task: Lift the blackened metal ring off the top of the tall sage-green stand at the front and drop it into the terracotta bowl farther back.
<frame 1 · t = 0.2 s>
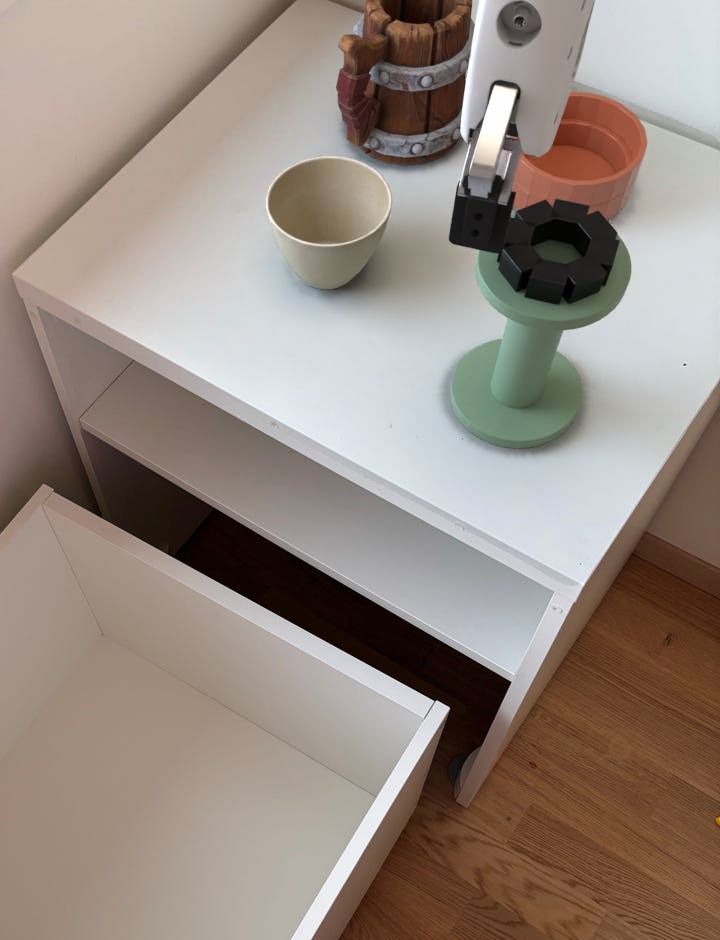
hand: (496, 187, 60), 20 cm above the nightstand, tool pointing down, fingers open, 9 cm apart
flower pot: (327, 268, 85), on the nightstand
stand: (513, 396, 79), on the nightstand
bowl: (564, 186, 88), on the nightstand
ring: (554, 261, 66), point 14 cm above the nightstand, touching stand
mug: (395, 137, 92), on the nightstand
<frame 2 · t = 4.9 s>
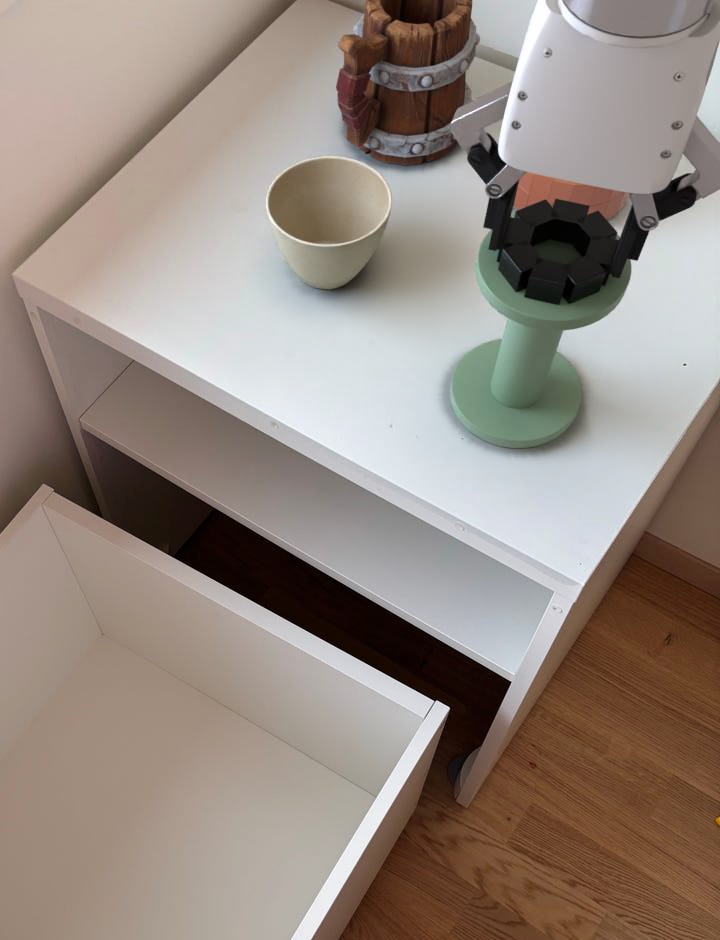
hand: (558, 247, 65), 15 cm above the nightstand, tool pointing down, fingers closed on ring, 7 cm apart
ring: (554, 261, 66), point 14 cm above the nightstand, touching gripper, stand
everything else where it was.
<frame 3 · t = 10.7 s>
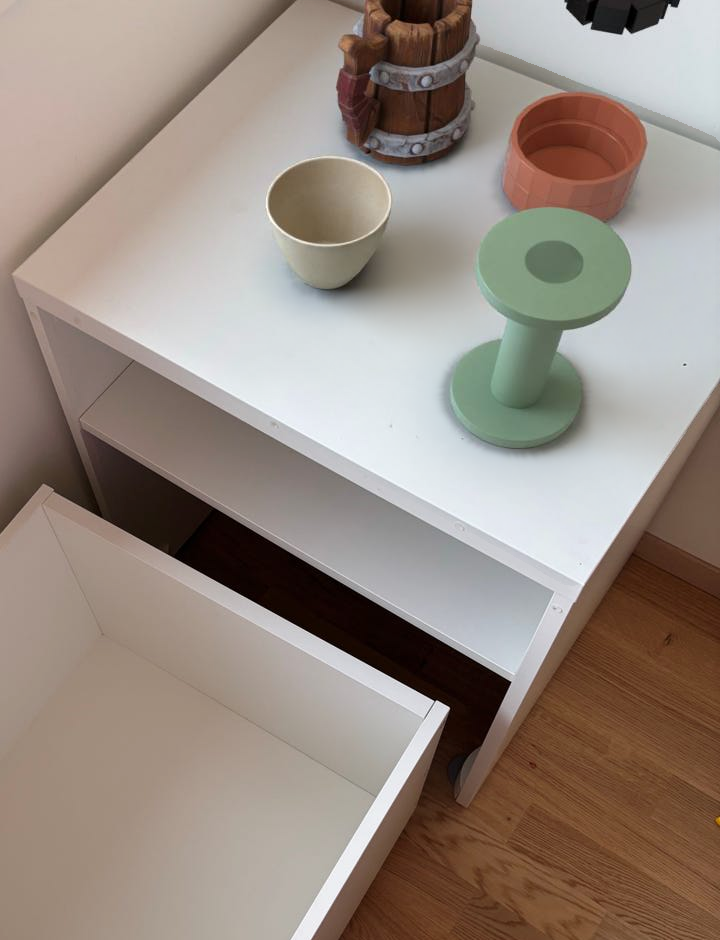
ring: (616, 1, 73), point 16 cm above the nightstand, touching gripper
everything else where it was.
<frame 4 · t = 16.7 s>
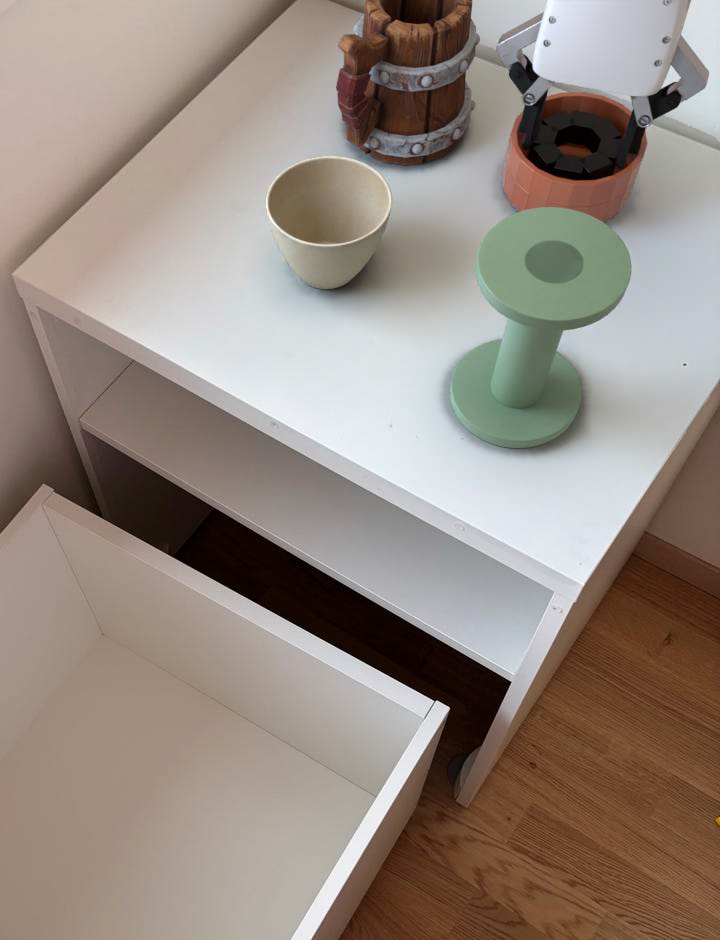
hand: (576, 146, 84), 4 cm above the nightstand, tool pointing down, fingers closed on ring, 7 cm apart
ring: (572, 159, 85), point 3 cm above the nightstand, touching gripper
everything else where it was.
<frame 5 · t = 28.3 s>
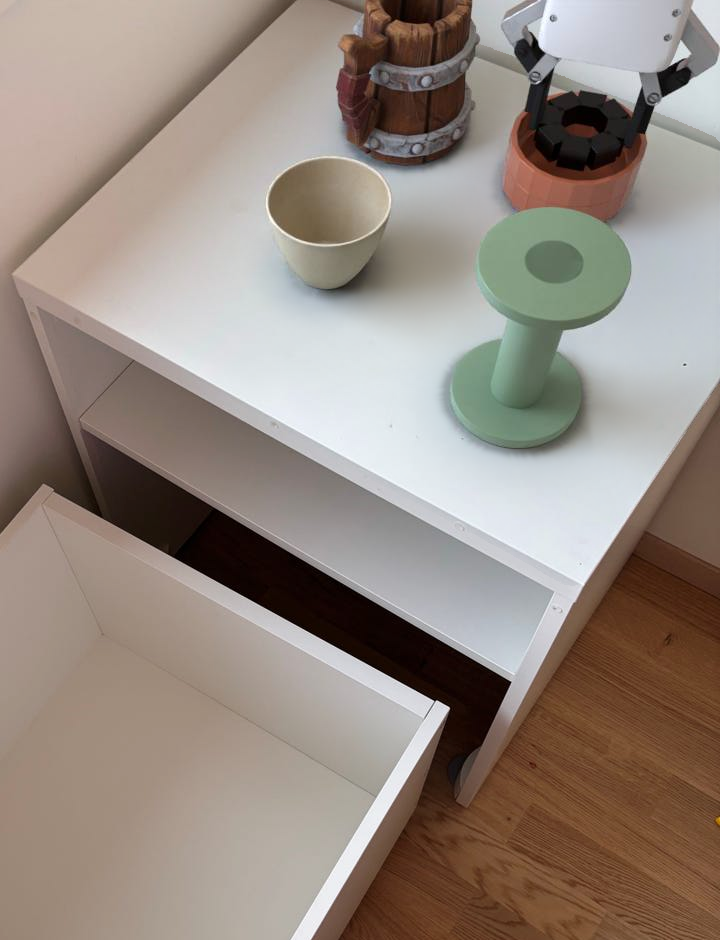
hand: (583, 126, 82), 6 cm above the nightstand, tool pointing down, fingers closed on ring, 7 cm apart
ring: (579, 140, 83), point 5 cm above the nightstand, touching gripper
everything else where it was.
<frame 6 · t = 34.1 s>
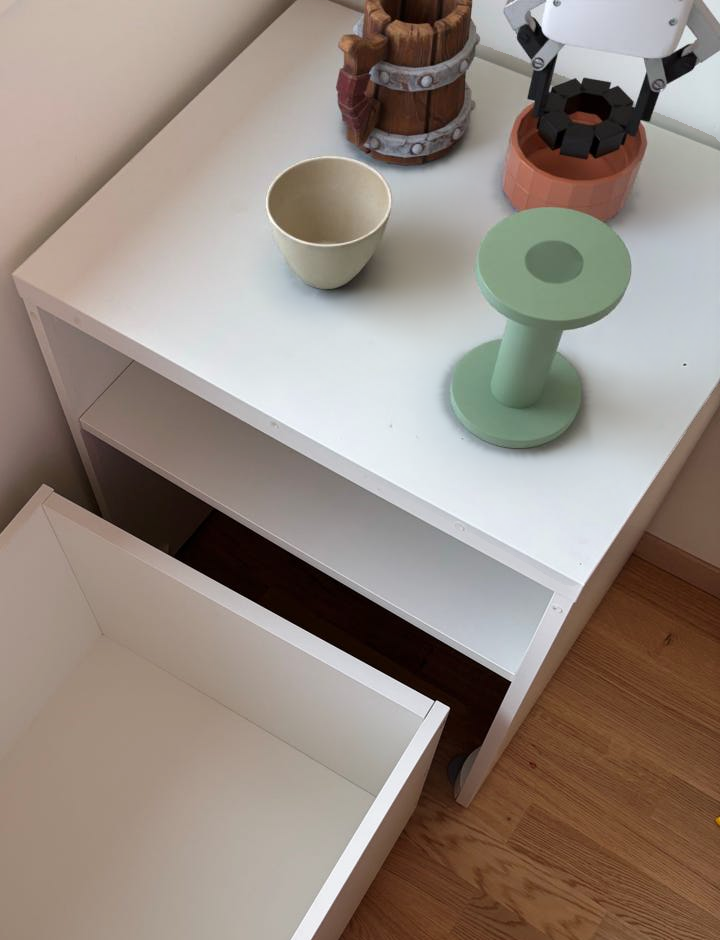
hand: (586, 114, 81), 7 cm above the nightstand, tool pointing down, fingers closed on ring, 7 cm apart
ring: (582, 128, 82), point 6 cm above the nightstand, touching gripper
everything else where it was.
when the fingers open (8 cm above the nightstand, at t = 39.5 s): ring drops 6 cm, resting on bowl.
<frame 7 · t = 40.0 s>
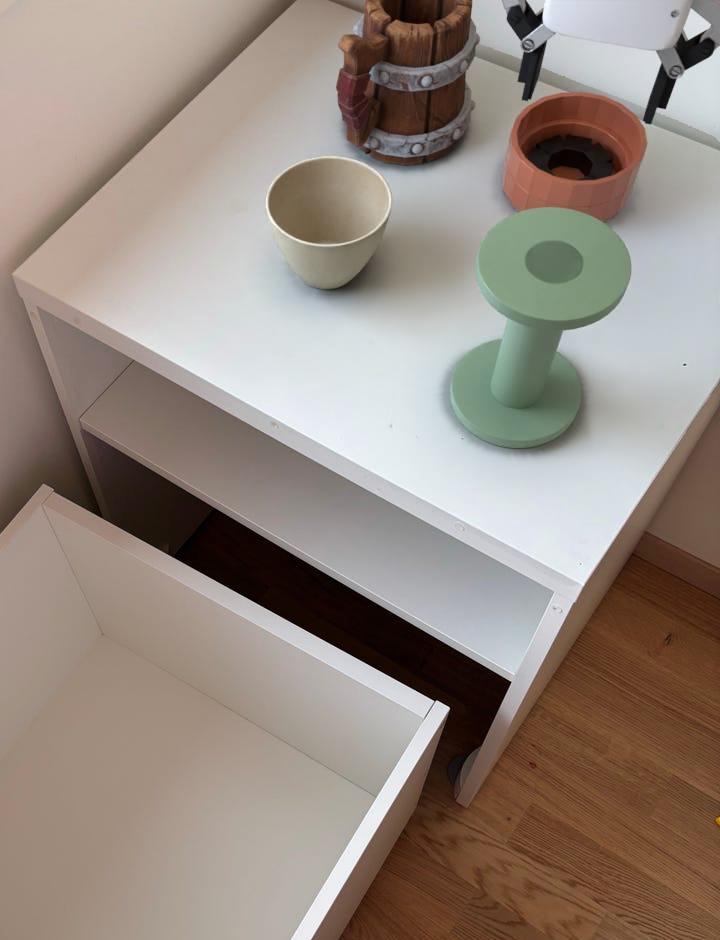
hand: (589, 101, 80), 8 cm above the nightstand, tool pointing down, fingers open, 9 cm apart
ring: (565, 181, 87), point 1 cm above the nightstand, touching bowl
everything else where it was.
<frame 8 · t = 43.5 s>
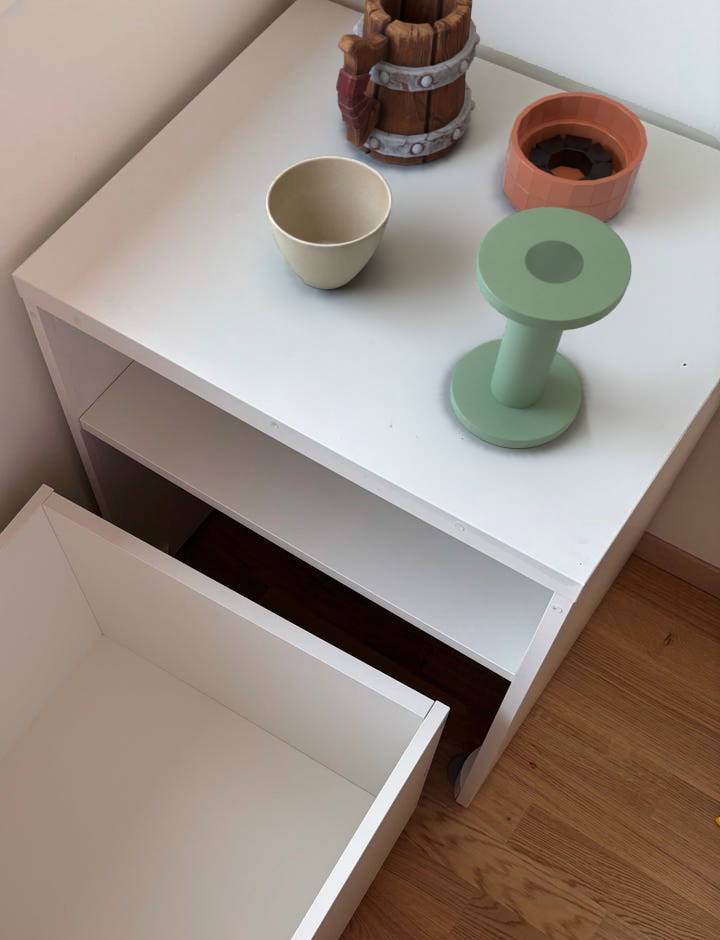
nothing on the nightstand moved.
at the end: ring 0.1 cm off-centre in the bowl, point 0.5 cm above the bowl's base; the gripper is holding nothing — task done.
